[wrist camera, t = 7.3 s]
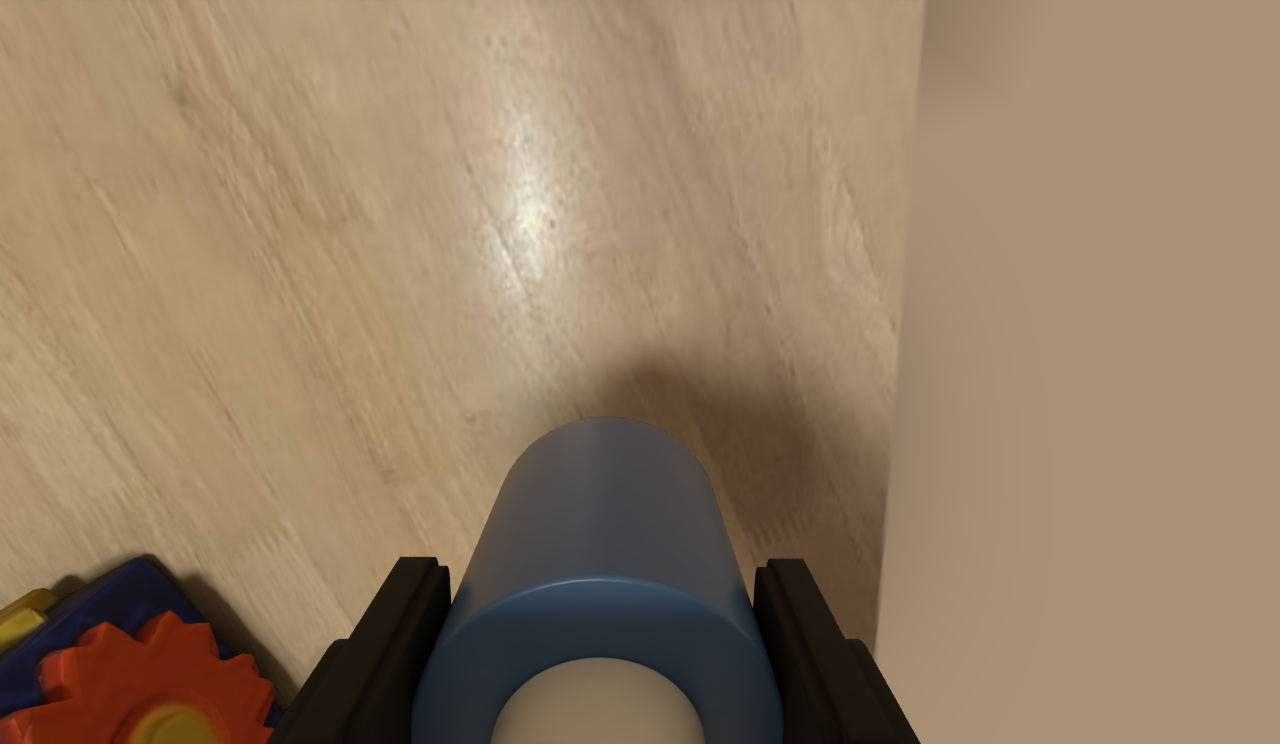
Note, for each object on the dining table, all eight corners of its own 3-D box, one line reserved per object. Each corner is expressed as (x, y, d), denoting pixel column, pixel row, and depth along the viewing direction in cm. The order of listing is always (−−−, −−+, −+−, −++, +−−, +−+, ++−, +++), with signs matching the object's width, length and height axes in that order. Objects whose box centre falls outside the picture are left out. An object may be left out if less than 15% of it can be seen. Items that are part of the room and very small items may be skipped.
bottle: (722, 417, 15) (901, 777, 5) (712, 618, 16) (842, 1195, 7) (493, 414, 14) (268, 781, 5) (500, 618, 16) (326, 1212, 6)
